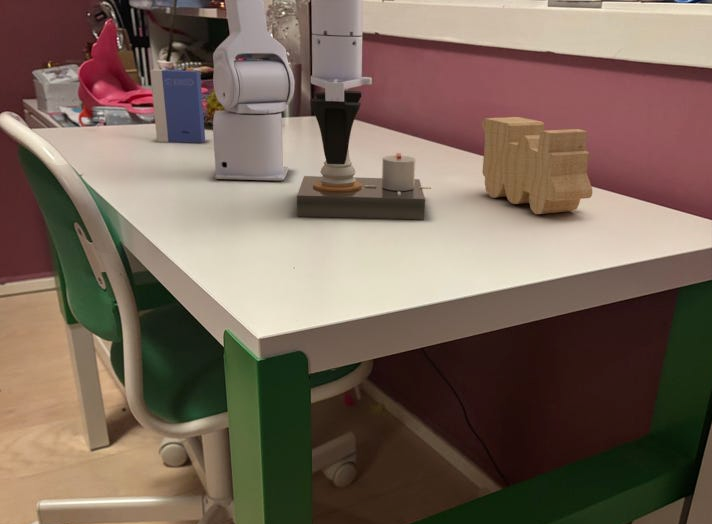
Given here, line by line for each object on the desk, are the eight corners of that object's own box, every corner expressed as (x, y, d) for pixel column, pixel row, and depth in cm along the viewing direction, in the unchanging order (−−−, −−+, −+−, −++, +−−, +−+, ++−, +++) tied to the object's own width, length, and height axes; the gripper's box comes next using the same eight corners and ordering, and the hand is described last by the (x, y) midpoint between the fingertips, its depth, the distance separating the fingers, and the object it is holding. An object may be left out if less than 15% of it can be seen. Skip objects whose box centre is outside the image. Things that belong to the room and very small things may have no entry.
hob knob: (415, 191, 90) (416, 159, 88) (382, 190, 90) (382, 158, 88) (413, 184, 93) (414, 153, 92) (381, 183, 93) (382, 152, 92)
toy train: (552, 221, 89) (563, 135, 85) (476, 191, 103) (482, 116, 98) (588, 217, 91) (601, 134, 87) (509, 188, 105) (516, 115, 101)
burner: (311, 190, 88) (311, 188, 88) (314, 180, 94) (314, 177, 94) (361, 192, 89) (361, 189, 88) (361, 181, 94) (361, 179, 94)
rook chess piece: (350, 188, 89) (351, 119, 85) (315, 185, 89) (314, 116, 86) (360, 181, 93) (360, 114, 89) (325, 178, 93) (325, 112, 90)
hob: (297, 216, 87) (296, 193, 86) (304, 195, 97) (303, 174, 96) (433, 220, 88) (434, 197, 87) (426, 198, 98) (427, 178, 97)
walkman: (205, 140, 132) (200, 68, 127) (201, 143, 129) (196, 69, 124) (160, 139, 132) (153, 66, 126) (156, 141, 129) (149, 68, 124)
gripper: (372, 39, 77) (370, 170, 83) (372, 34, 91) (370, 148, 96) (305, 36, 77) (307, 168, 83) (314, 32, 90) (315, 146, 96)
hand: (337, 157), depth 90 cm, fingers open, 7 cm apart
